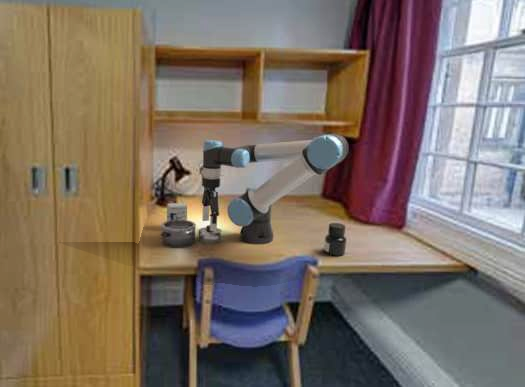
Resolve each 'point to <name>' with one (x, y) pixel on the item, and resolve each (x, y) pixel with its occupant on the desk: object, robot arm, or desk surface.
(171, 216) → the ink box
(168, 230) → the pot
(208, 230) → the lid
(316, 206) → the desk surface
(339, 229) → the ink bottle
